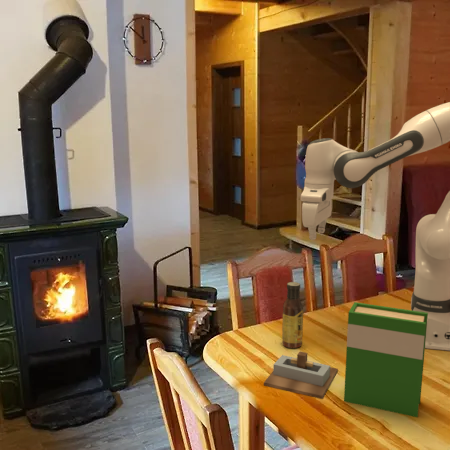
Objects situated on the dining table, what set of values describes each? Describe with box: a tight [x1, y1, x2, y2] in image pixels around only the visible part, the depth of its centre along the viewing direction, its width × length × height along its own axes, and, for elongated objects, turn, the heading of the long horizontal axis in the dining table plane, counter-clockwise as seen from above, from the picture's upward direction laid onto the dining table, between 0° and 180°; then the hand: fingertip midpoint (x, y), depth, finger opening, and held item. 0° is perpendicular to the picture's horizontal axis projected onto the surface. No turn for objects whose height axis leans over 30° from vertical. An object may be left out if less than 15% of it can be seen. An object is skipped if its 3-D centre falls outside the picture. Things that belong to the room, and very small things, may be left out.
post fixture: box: [263, 351, 338, 400], centre depth 148 cm, size 16×16×7 cm
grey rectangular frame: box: [272, 354, 331, 387], centre depth 149 cm, size 14×6×3 cm, turn 62°
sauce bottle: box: [281, 281, 304, 349], centre depth 167 cm, size 6×6×20 cm
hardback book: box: [343, 301, 428, 418], centre depth 135 cm, size 18×7×24 cm, turn 66°
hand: (317, 235), depth 169 cm, fingers open, 8 cm apart
